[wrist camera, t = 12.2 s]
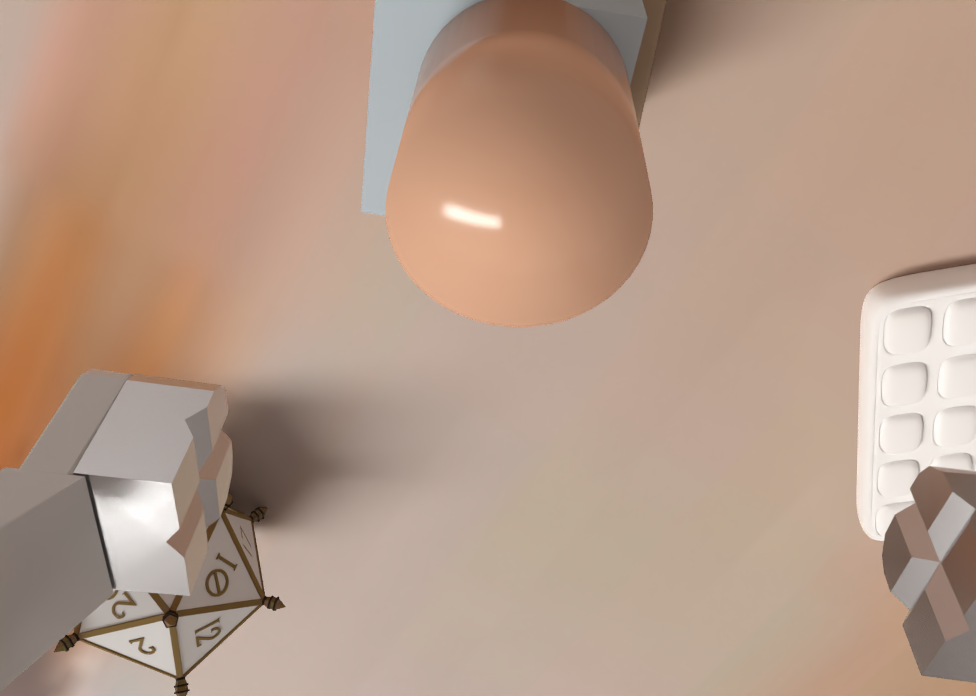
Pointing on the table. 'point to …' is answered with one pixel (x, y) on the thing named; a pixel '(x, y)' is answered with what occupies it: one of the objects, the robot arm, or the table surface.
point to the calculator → (914, 387)
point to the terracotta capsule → (520, 167)
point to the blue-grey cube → (399, 54)
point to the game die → (185, 606)
